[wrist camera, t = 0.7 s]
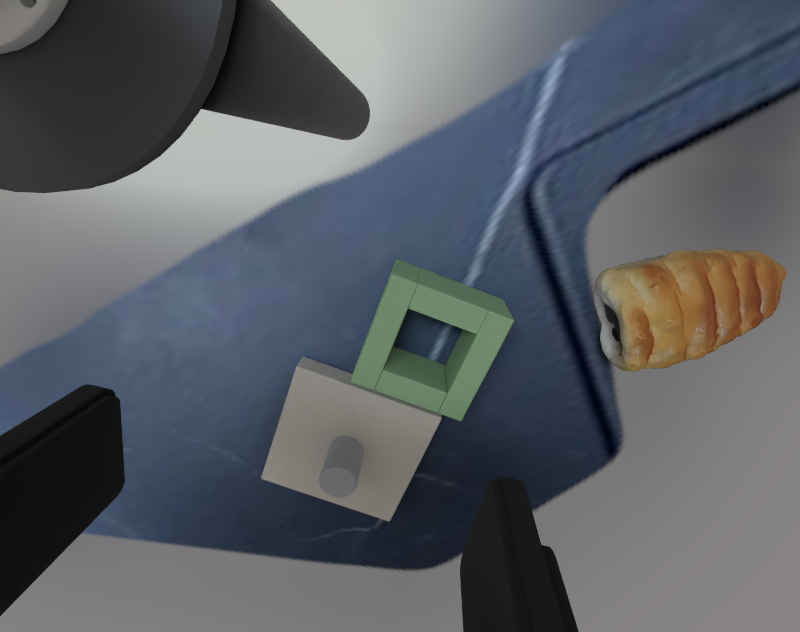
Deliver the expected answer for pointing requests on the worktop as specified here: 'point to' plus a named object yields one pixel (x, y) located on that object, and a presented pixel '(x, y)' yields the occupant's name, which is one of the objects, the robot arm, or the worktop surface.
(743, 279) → the pastry
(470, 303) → the green hollow square block
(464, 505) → the worktop surface
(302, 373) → the base pad
